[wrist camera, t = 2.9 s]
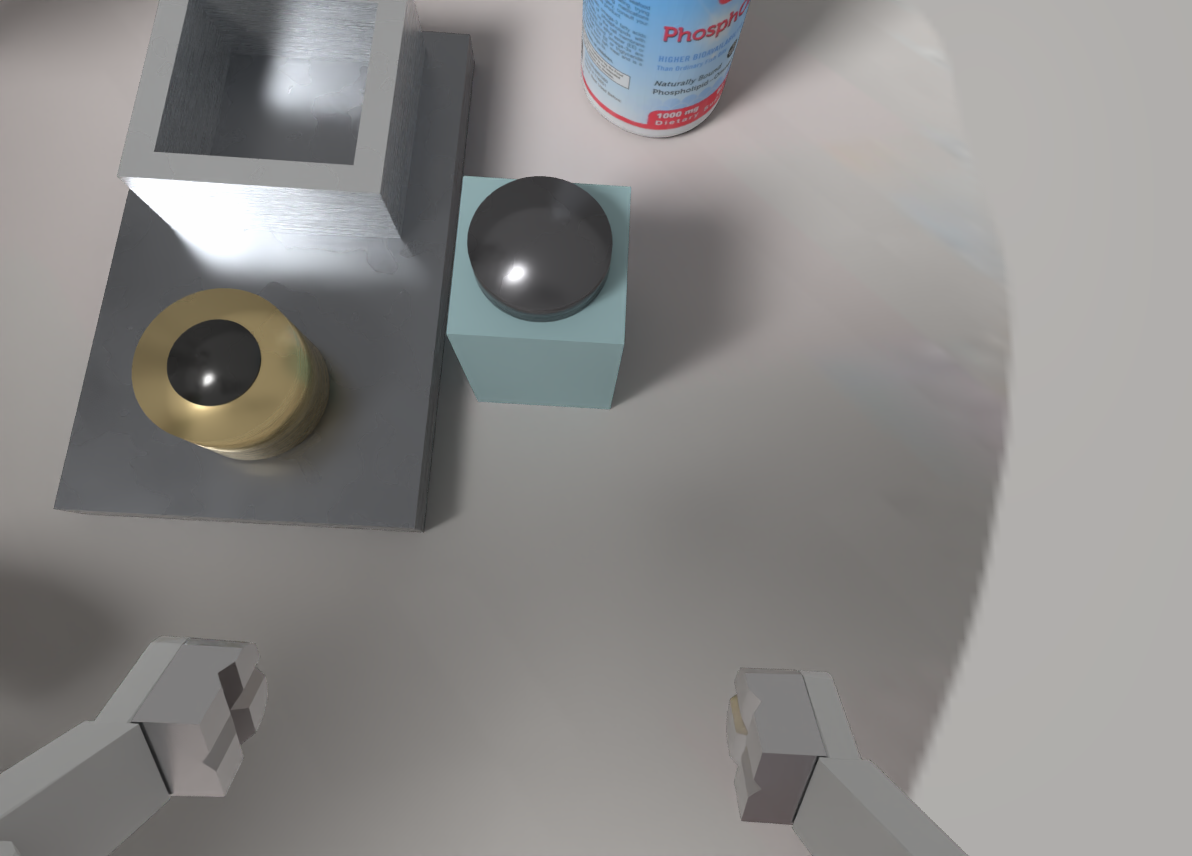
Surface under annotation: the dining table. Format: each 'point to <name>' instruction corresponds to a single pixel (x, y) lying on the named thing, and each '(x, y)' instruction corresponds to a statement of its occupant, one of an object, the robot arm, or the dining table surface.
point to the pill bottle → (658, 60)
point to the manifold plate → (278, 269)
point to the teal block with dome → (540, 290)
